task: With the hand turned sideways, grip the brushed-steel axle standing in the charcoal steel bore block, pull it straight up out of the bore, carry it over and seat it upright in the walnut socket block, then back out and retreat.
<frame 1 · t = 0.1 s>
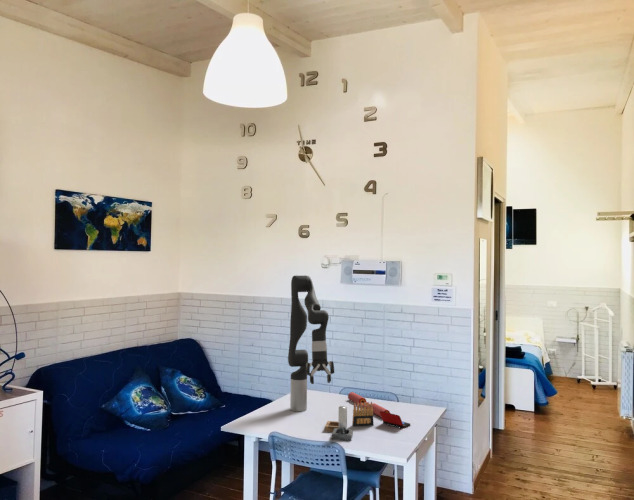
hand: (320, 383, 269), 22 cm above the table, tool pointing down, fingers open, 8 cm apart
ammunition clip: (362, 425, 274), on the table
walnut socket block: (335, 429, 268), on the table
handheld game console: (394, 426, 275), on the table
steel bore block: (342, 436, 256), on the table
steel axle: (342, 437, 256), resting in steel bore block
blood vessel: (367, 409, 306), on the table
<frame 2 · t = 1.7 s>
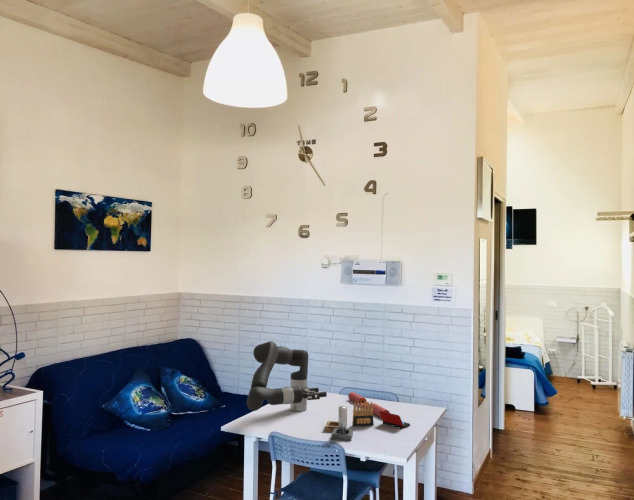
hand: (322, 392, 252), 22 cm above the table, tool horizontal, fingers open, 8 cm apart
nothing on the table moved.
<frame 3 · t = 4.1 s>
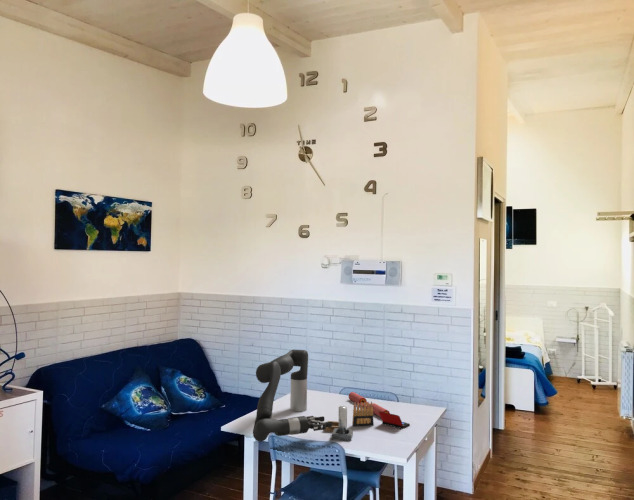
hand: (328, 421, 253), 8 cm above the table, tool horizontal, fingers open, 8 cm apart
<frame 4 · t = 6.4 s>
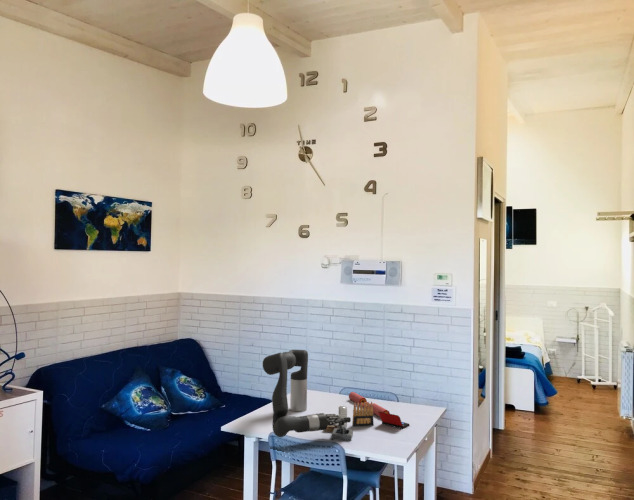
hand: (347, 418, 257), 9 cm above the table, tool horizontal, fingers closed on steel axle, 4 cm apart
steel axle: (342, 436, 256), resting in steel bore block, touching gripper
everything else where it was.
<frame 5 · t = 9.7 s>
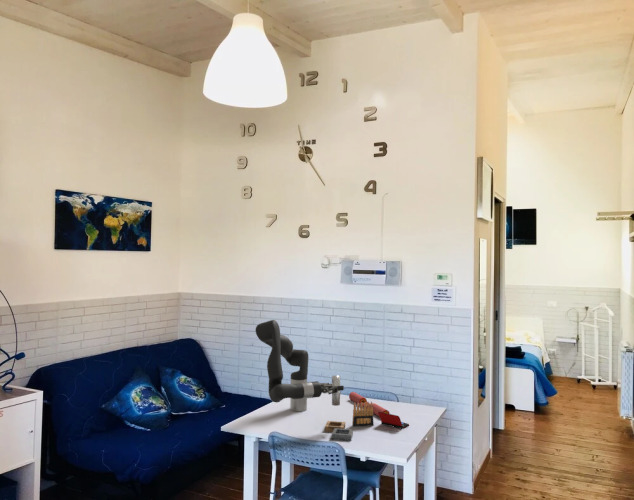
hand: (340, 386, 269), 21 cm above the table, tool horizontal, fingers closed on steel axle, 4 cm apart
steel axle: (335, 404, 268), point 12 cm above the table, touching gripper
when the fingers open (9 cm above the table, at t = 12.8 s): steel axle stays where it is, resting in walnut socket block.
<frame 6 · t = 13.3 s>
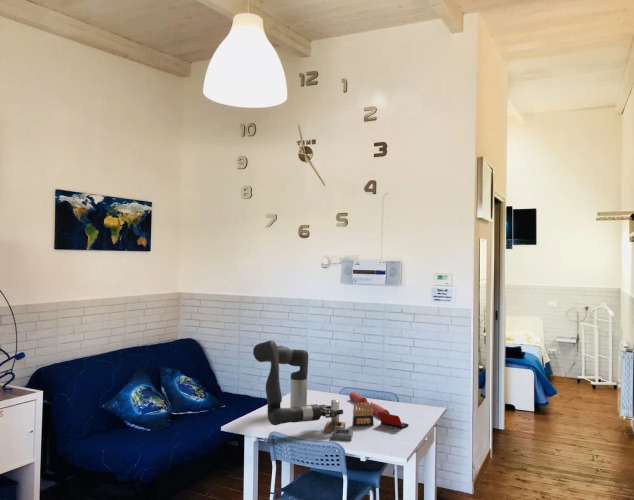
hand: (338, 409, 269), 10 cm above the table, tool horizontal, fingers open, 8 cm apart
steel axle: (335, 429, 267), resting in walnut socket block
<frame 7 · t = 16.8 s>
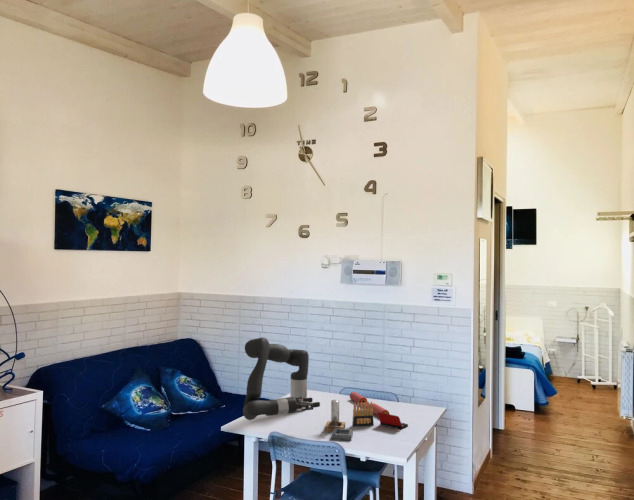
hand: (315, 401, 263), 14 cm above the table, tool horizontal, fingers open, 8 cm apart
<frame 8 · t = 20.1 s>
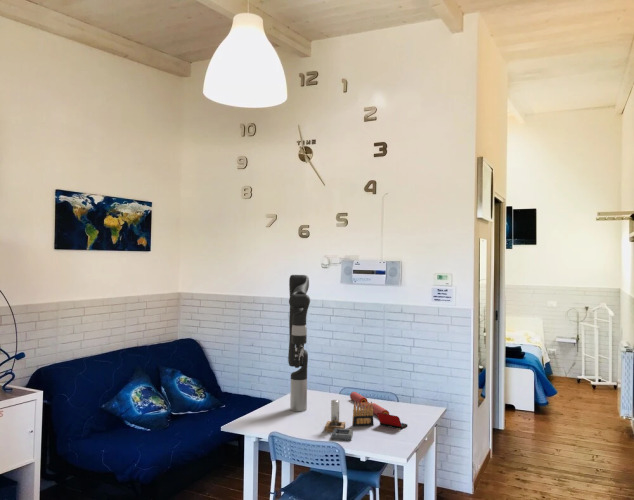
hand: (298, 366, 272), 30 cm above the table, tool pointing down, fingers open, 8 cm apart
at the end: steel axle 0.1 cm off-centre on the walnut socket block, point 0.0 cm above the walnut socket block's base; steel axle tilted 0°; the gripper is holding nothing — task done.
